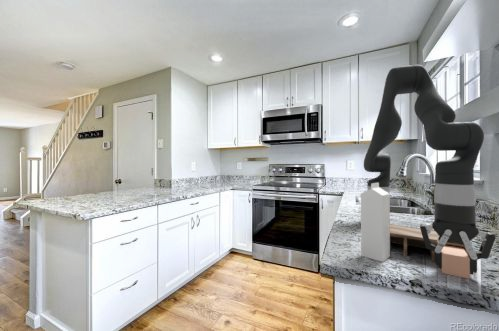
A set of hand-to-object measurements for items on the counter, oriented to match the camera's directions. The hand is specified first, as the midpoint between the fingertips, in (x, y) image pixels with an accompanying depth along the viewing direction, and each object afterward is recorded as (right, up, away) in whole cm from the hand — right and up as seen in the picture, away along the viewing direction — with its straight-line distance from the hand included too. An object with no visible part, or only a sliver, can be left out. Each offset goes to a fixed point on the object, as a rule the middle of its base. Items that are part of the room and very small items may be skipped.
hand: (454, 269), depth 54 cm
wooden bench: (+2, -1, +14) cm, 14 cm away
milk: (-13, -1, +11) cm, 17 cm away
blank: (+2, -1, +3) cm, 4 cm away
